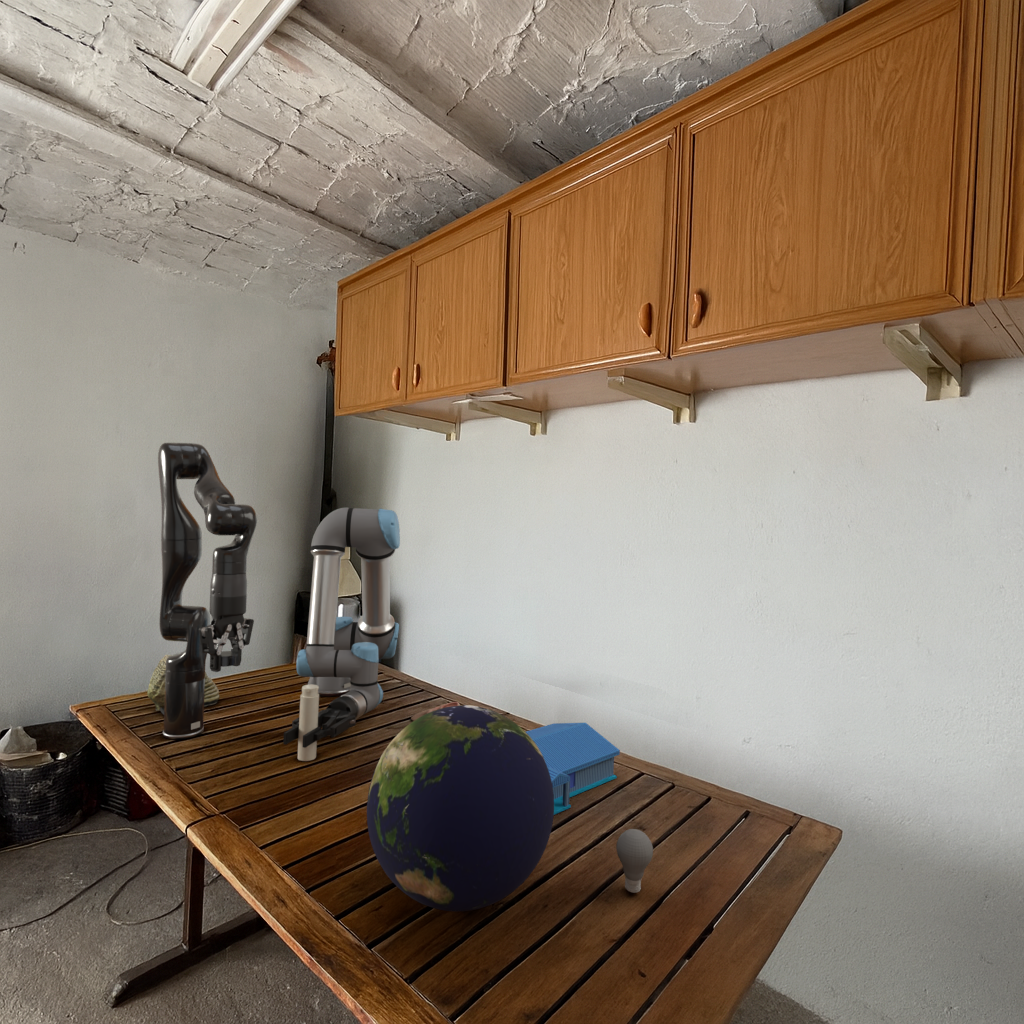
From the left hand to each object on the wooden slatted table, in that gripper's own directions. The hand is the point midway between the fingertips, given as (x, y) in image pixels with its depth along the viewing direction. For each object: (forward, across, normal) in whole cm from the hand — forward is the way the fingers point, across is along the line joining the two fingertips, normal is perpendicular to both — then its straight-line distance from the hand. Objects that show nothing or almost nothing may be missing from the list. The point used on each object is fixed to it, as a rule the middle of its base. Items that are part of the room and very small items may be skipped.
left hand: (225, 668), depth 142 cm
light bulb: (+24, -4, -93) cm, 96 cm away
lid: (-3, 0, 0) cm, 3 cm away
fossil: (+24, +28, +44) cm, 57 cm away
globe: (+24, -17, -67) cm, 73 cm away
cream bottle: (+24, +16, -11) cm, 30 cm away
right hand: (+18, +10, -12) cm, 23 cm away
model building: (+24, +25, -65) cm, 74 cm away
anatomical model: (+24, +54, -26) cm, 64 cm away
